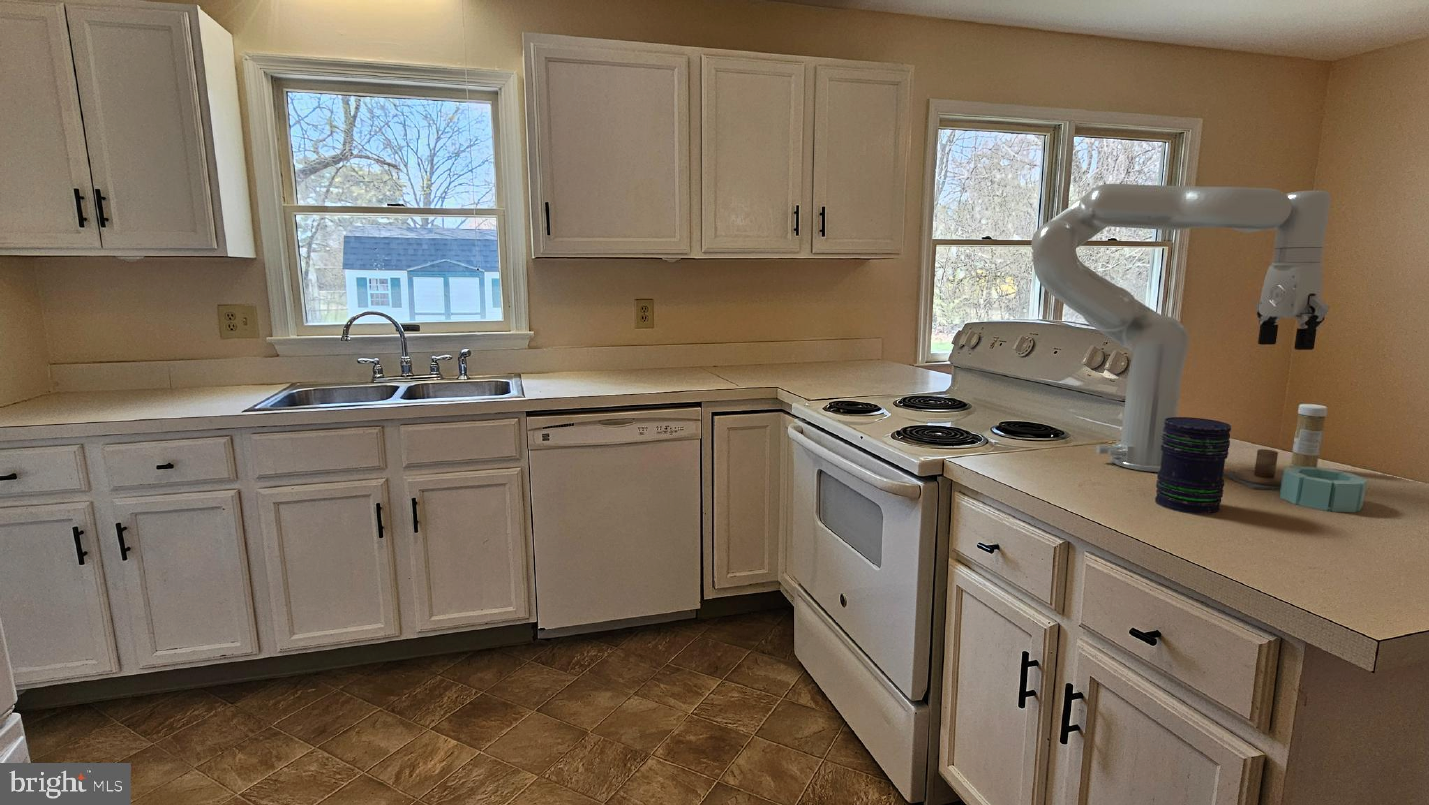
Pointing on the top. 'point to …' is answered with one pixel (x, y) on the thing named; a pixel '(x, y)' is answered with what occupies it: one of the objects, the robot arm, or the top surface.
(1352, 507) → the bowl
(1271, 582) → the top surface
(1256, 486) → the mat
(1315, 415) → the sprinkles bottle
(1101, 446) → the robot arm
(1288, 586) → the top surface
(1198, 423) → the storage jar
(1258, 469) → the lid
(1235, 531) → the top surface
